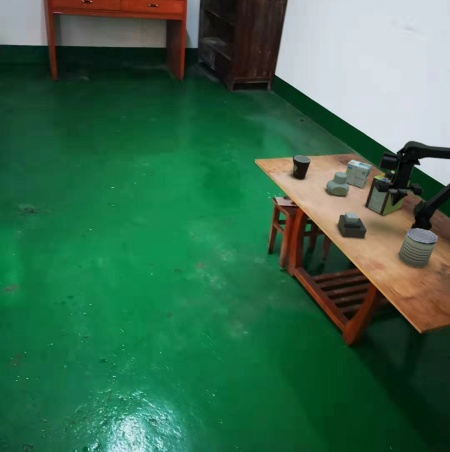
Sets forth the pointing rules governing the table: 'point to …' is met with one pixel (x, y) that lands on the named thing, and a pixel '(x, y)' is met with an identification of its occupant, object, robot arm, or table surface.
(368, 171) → the light bulb box
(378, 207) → the protein box
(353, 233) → the stepped grey pedestal
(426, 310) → the table surface
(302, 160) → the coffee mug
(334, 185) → the air freshener
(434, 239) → the can
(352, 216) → the pad
